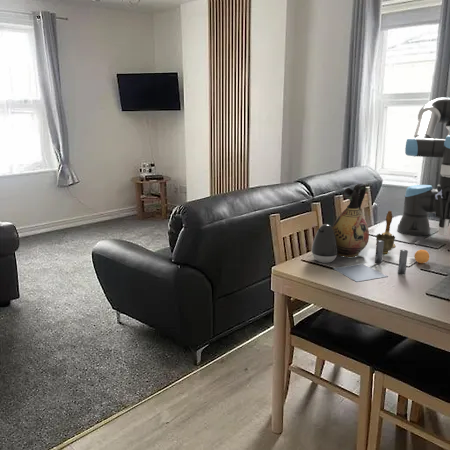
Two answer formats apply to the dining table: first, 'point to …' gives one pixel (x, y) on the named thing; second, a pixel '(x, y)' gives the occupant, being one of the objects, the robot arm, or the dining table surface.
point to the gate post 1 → (379, 251)
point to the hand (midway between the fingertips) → (442, 234)
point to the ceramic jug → (352, 224)
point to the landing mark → (360, 272)
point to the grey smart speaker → (325, 244)
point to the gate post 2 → (402, 262)
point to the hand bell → (388, 225)
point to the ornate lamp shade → (386, 242)
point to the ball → (421, 256)
